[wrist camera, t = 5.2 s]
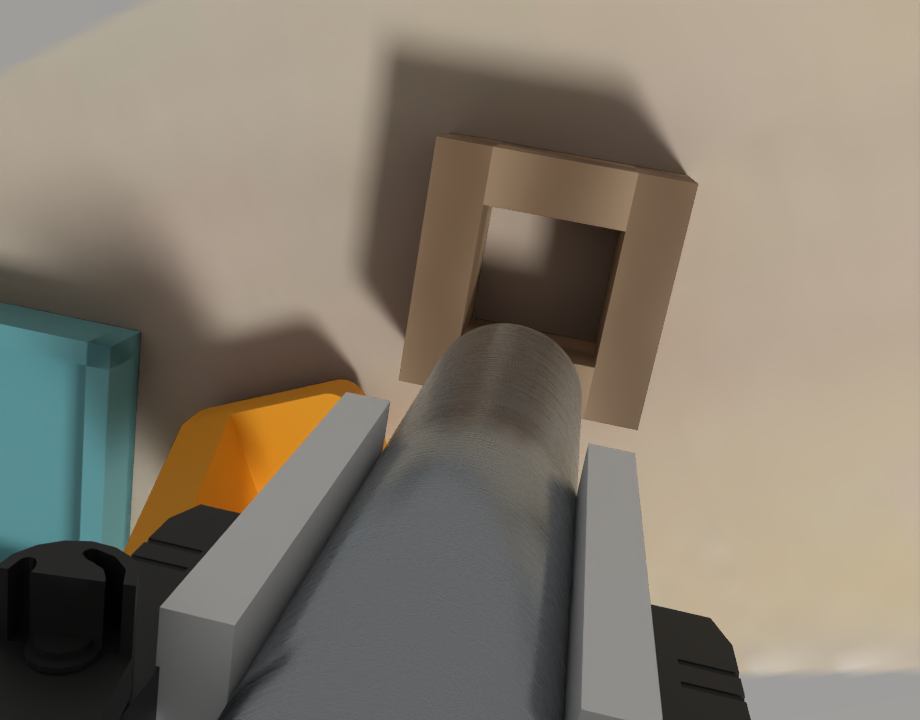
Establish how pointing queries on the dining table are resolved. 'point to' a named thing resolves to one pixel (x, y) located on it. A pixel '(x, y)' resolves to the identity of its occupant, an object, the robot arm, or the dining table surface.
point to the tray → (65, 429)
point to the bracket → (234, 452)
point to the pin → (444, 556)
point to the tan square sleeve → (562, 197)
